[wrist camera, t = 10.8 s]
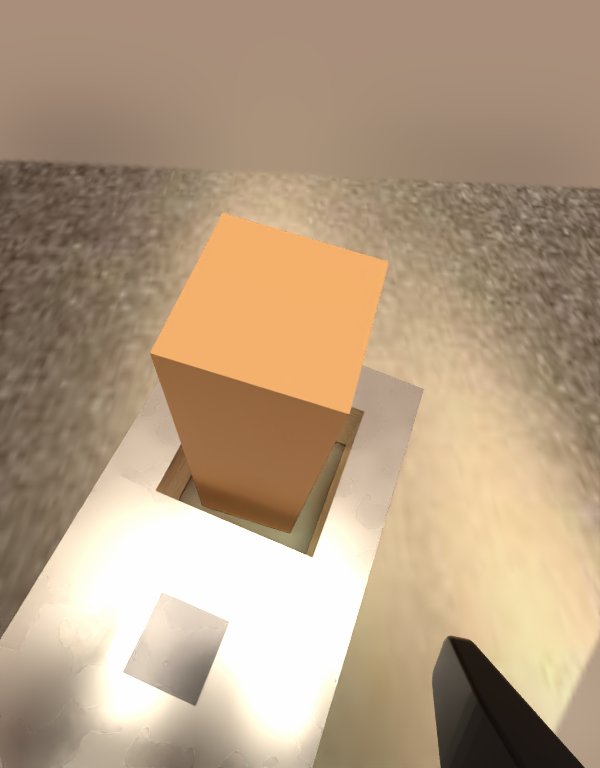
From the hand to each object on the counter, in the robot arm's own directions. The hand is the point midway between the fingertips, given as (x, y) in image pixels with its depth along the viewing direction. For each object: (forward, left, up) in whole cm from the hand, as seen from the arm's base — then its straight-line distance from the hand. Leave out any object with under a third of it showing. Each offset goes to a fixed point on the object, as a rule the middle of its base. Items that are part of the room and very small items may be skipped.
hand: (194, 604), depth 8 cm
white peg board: (+1, +1, -12) cm, 12 cm away
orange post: (+6, +1, -12) cm, 13 cm away
